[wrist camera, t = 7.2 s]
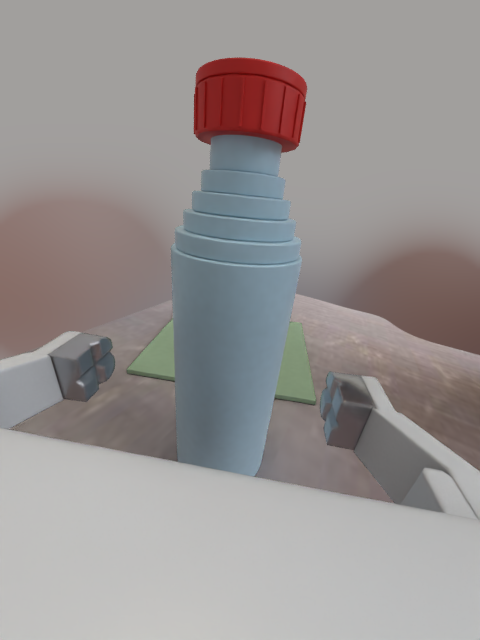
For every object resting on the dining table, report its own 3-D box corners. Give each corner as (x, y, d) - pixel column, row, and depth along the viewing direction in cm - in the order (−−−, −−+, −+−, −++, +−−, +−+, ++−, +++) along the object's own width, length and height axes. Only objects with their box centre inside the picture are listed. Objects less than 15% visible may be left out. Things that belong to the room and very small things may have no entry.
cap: (295, 156, 11) (302, 108, 11) (303, 135, 8) (315, 59, 7) (209, 148, 12) (210, 101, 11) (177, 125, 8) (176, 52, 7)
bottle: (264, 422, 20) (319, 128, 12) (259, 502, 15) (355, 66, 6) (192, 410, 21) (195, 119, 12) (162, 482, 15) (130, 54, 7)
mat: (300, 326, 37) (301, 322, 37) (315, 405, 23) (316, 400, 22) (183, 309, 38) (183, 306, 38) (126, 373, 24) (126, 369, 24)
